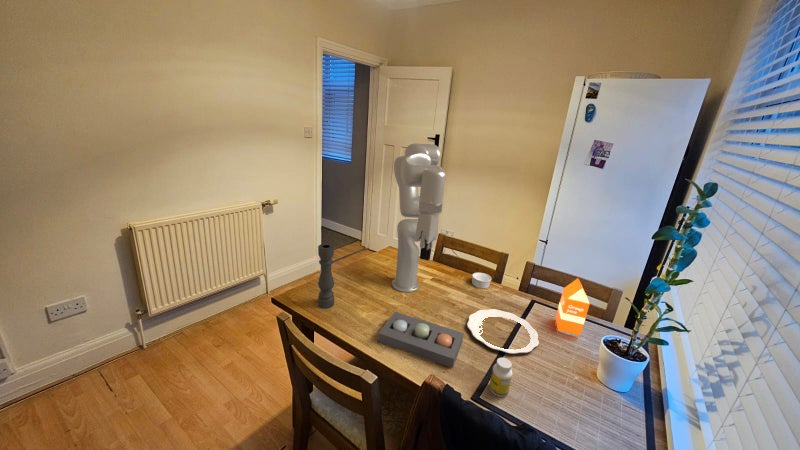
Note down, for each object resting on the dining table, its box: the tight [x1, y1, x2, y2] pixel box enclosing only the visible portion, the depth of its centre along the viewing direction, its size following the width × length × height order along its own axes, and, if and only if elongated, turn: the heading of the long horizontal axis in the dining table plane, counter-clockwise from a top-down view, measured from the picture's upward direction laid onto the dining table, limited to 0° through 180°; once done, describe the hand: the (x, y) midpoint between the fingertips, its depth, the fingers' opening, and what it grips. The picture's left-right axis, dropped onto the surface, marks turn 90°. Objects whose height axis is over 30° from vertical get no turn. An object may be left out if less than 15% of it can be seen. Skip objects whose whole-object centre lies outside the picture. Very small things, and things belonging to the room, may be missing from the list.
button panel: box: [377, 311, 465, 369], centre depth 107 cm, size 14×26×4 cm, turn 67°
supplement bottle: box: [488, 357, 513, 398], centre depth 89 cm, size 5×5×10 cm
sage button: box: [415, 323, 429, 340], centre depth 107 cm, size 5×5×3 cm
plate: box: [466, 308, 540, 355], centre depth 116 cm, size 25×25×2 cm
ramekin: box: [471, 272, 492, 289], centre depth 149 cm, size 9×9×4 cm
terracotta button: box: [437, 334, 452, 349], centre depth 104 cm, size 5×5×3 cm
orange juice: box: [555, 278, 591, 336], centre depth 118 cm, size 8×9×20 cm
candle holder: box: [317, 243, 335, 310], centre depth 121 cm, size 6×6×25 cm
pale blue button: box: [393, 320, 407, 333], centre depth 110 cm, size 5×5×3 cm
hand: (424, 258), depth 108 cm, fingers closed
